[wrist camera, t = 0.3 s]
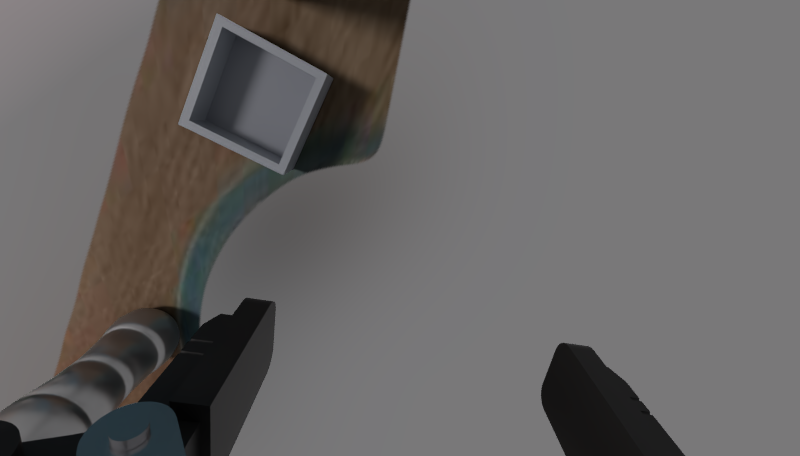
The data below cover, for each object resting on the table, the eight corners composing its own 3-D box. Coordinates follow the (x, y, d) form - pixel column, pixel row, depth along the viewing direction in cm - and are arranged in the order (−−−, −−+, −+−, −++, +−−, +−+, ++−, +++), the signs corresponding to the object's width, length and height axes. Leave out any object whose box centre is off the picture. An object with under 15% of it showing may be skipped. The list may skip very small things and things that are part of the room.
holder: (236, 25, 33) (216, 13, 29) (333, 78, 34) (327, 73, 30) (200, 123, 35) (178, 124, 31) (293, 168, 36) (283, 175, 33)
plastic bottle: (200, 327, 41) (42, 511, 22) (161, 363, 42) (-21, 568, 23) (151, 289, 39) (-65, 451, 20) (112, 327, 41) (-127, 516, 21)
